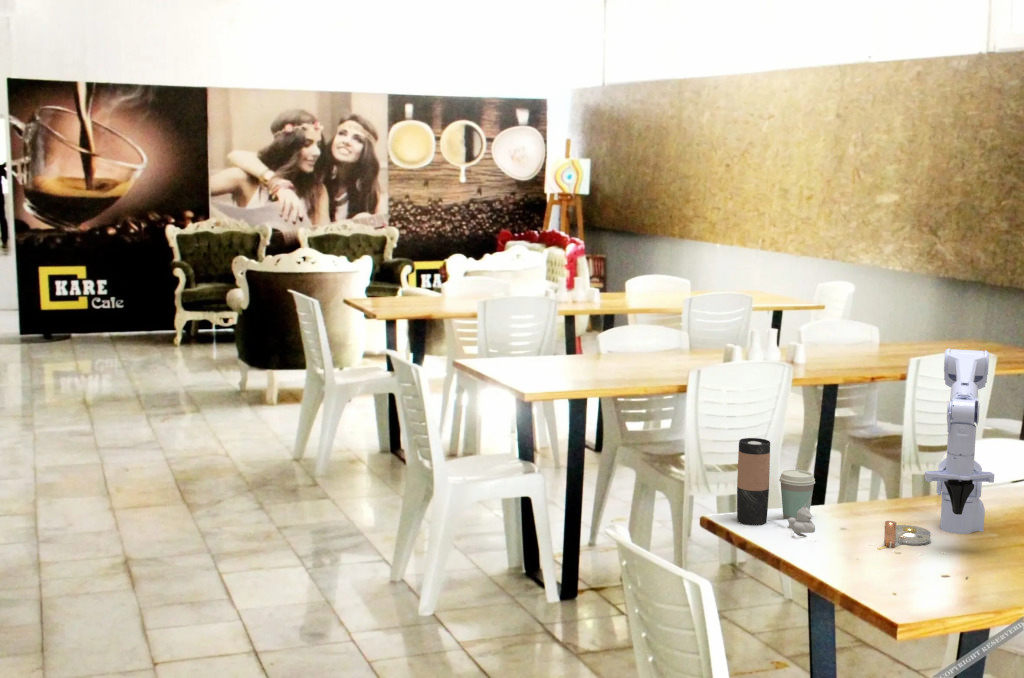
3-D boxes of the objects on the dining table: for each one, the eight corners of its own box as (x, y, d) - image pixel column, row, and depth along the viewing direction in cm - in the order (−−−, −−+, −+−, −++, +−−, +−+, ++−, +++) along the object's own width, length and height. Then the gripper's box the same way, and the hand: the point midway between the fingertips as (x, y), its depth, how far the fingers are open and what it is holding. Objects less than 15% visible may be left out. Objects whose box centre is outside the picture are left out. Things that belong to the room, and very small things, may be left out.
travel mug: (774, 522, 287) (777, 442, 284) (752, 527, 283) (755, 446, 280) (751, 515, 293) (753, 436, 290) (729, 520, 289) (731, 440, 286)
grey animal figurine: (809, 540, 273) (810, 507, 272) (782, 535, 277) (784, 502, 276) (818, 535, 277) (820, 502, 276) (792, 530, 281) (793, 497, 280)
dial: (902, 531, 275) (903, 508, 275) (937, 540, 269) (939, 516, 268) (868, 542, 267) (870, 518, 266) (904, 552, 260) (905, 528, 259)
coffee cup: (814, 527, 283) (816, 478, 282) (778, 525, 285) (779, 476, 283) (812, 517, 292) (814, 470, 290) (777, 515, 293) (779, 468, 292)
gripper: (933, 457, 255) (929, 517, 257) (1001, 457, 254) (997, 518, 256) (922, 449, 262) (919, 508, 264) (988, 450, 261) (985, 509, 263)
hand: (957, 513), depth 260 cm, fingers closed
